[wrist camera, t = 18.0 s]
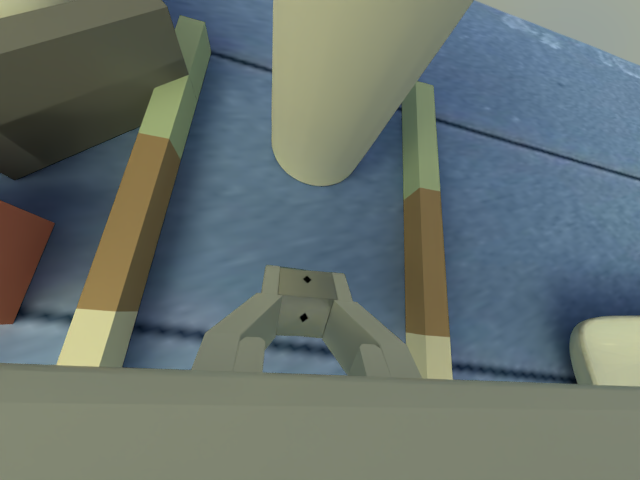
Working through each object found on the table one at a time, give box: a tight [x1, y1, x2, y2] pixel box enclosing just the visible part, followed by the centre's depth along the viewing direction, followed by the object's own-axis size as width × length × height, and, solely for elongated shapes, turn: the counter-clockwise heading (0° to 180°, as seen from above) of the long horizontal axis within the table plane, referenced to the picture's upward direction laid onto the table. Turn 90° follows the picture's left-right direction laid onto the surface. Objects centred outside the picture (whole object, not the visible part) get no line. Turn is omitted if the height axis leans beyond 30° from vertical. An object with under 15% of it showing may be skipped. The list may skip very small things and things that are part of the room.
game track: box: [57, 15, 453, 380], centre depth 14 cm, size 27×18×2 cm, turn 175°
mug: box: [272, 0, 474, 186], centre depth 13 cm, size 10×7×12 cm, turn 144°
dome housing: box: [0, 0, 197, 180], centre depth 13 cm, size 11×11×6 cm
